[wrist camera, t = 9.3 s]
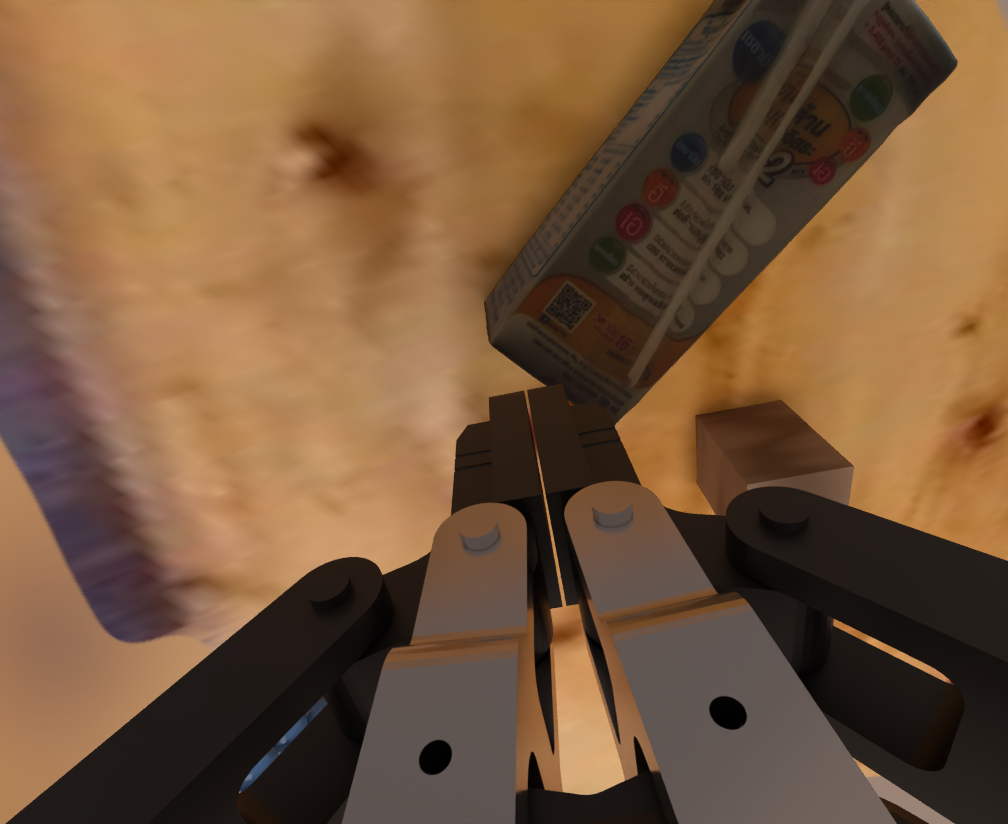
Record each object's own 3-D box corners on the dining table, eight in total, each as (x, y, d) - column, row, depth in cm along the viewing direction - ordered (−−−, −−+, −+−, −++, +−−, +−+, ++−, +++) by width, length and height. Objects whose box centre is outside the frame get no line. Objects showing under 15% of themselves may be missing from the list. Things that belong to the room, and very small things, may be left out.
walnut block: (781, 400, 32) (853, 466, 26) (776, 469, 34) (842, 546, 28) (695, 415, 32) (747, 484, 26) (697, 483, 34) (745, 562, 28)
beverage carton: (870, 77, 24) (992, 62, 19) (587, 386, 31) (612, 447, 25) (756, -65, 22) (855, -132, 16) (475, 305, 29) (474, 351, 23)
